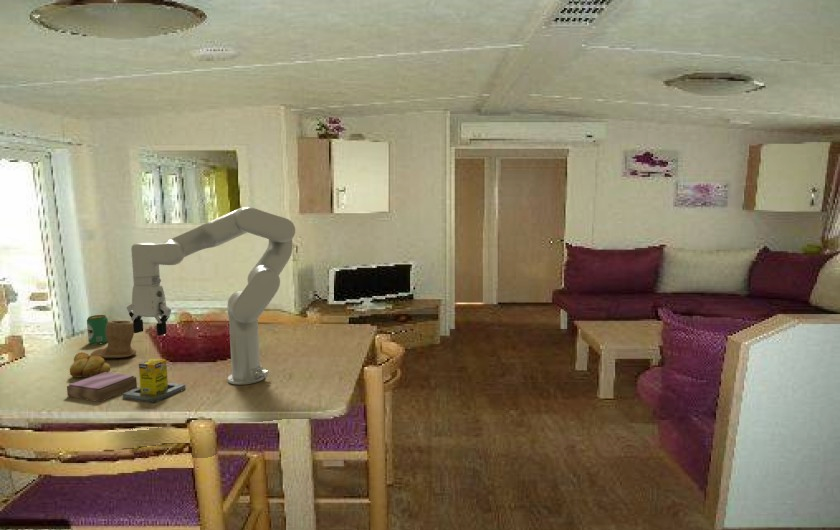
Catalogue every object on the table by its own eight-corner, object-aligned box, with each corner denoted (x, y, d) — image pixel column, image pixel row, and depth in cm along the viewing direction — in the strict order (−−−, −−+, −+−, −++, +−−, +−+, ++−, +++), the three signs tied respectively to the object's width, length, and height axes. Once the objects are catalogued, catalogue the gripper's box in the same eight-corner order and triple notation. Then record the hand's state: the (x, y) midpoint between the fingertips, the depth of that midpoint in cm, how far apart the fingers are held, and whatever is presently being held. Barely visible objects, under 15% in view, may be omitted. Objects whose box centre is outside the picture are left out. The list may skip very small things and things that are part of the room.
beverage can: (85, 343, 234) (83, 317, 232) (104, 339, 240) (102, 313, 239) (93, 345, 229) (91, 319, 228) (112, 341, 236) (110, 315, 234)
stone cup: (143, 352, 219) (140, 317, 217) (127, 360, 207) (124, 324, 205) (107, 352, 219) (104, 317, 217) (89, 361, 207) (86, 324, 205)
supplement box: (156, 397, 167) (154, 364, 166) (140, 396, 168) (137, 363, 167) (169, 390, 173) (166, 359, 172) (153, 389, 174) (151, 358, 173)
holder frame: (185, 388, 175) (185, 384, 174) (154, 403, 162) (153, 398, 162) (155, 384, 179) (155, 380, 179) (122, 398, 167) (122, 393, 166)
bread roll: (115, 370, 195) (114, 349, 194) (101, 379, 185) (99, 357, 184) (80, 371, 194) (78, 350, 193) (64, 380, 185) (62, 358, 184)
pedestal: (136, 386, 177) (136, 375, 176) (99, 401, 164) (98, 389, 163) (106, 382, 182) (105, 371, 181) (67, 396, 168) (66, 384, 168)
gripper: (177, 280, 167) (180, 332, 169) (136, 278, 173) (139, 328, 175) (158, 284, 160) (161, 338, 162) (116, 281, 165) (120, 334, 167)
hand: (150, 333), depth 168 cm, fingers open, 9 cm apart
